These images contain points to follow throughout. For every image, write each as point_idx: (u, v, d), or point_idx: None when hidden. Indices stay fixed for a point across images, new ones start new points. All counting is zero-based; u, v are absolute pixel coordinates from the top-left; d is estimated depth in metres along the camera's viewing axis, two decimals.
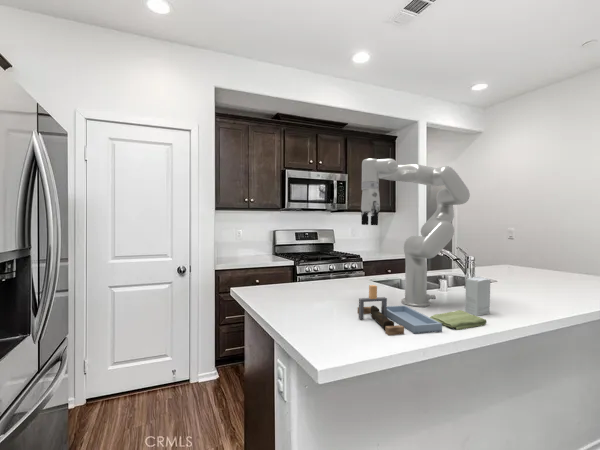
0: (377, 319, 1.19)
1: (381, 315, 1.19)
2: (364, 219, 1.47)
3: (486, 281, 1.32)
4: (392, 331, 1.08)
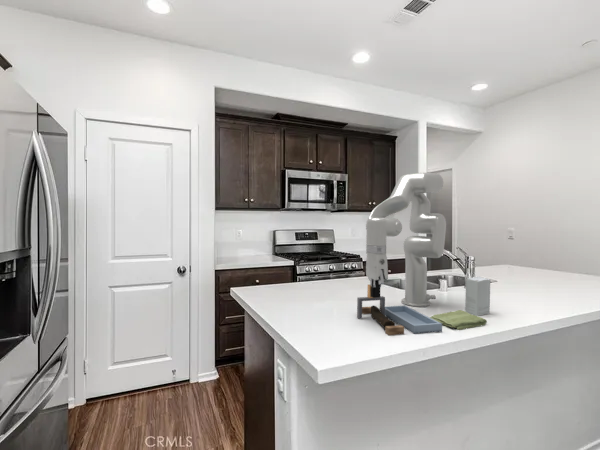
0: (377, 319, 1.19)
1: (381, 315, 1.19)
2: None
3: (486, 281, 1.32)
4: (392, 331, 1.08)
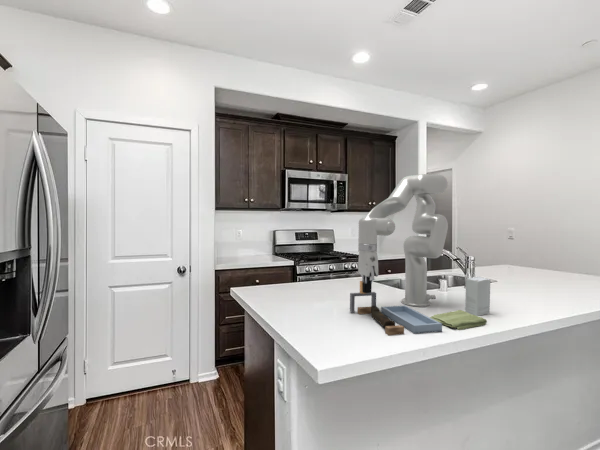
0: (378, 319, 1.19)
1: (382, 315, 1.19)
2: None
3: (486, 281, 1.32)
4: (392, 331, 1.08)
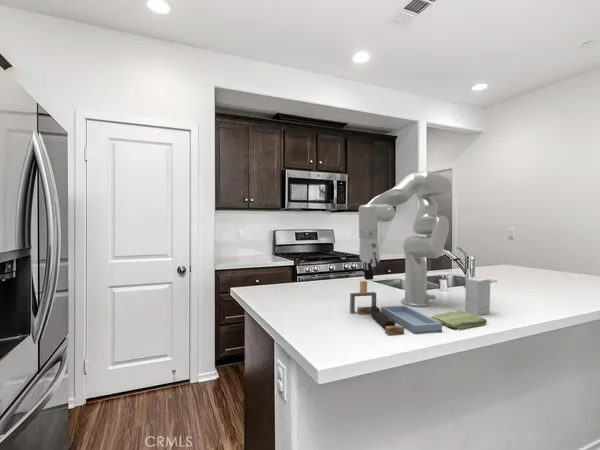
0: (378, 319, 1.19)
1: (382, 315, 1.19)
2: None
3: (486, 281, 1.32)
4: (392, 331, 1.08)
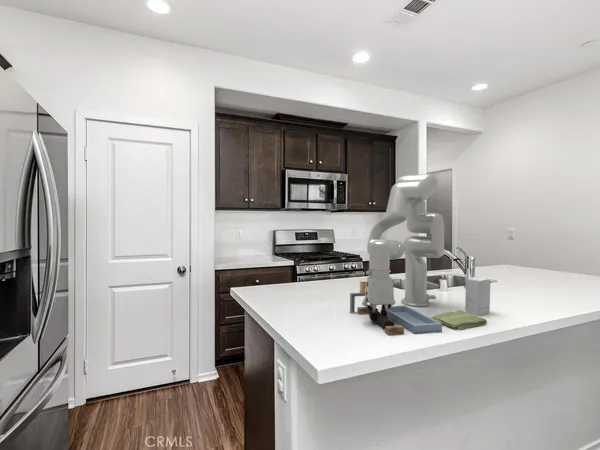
0: (376, 319, 1.19)
1: (380, 315, 1.19)
2: None
3: (486, 281, 1.32)
4: (392, 331, 1.08)
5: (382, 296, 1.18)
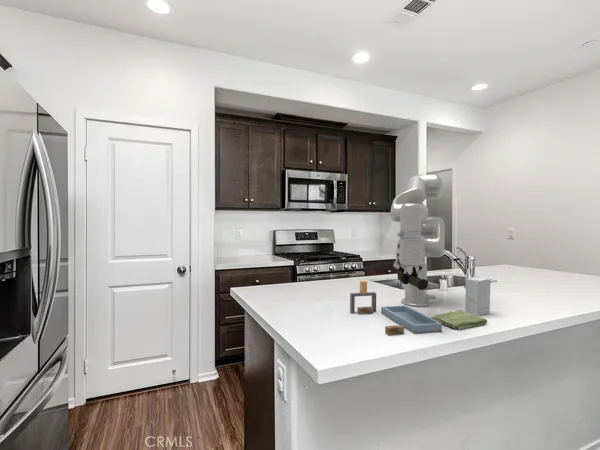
0: (408, 280, 1.20)
1: (412, 276, 1.20)
2: None
3: (486, 281, 1.32)
4: (392, 331, 1.08)
5: (414, 257, 1.19)
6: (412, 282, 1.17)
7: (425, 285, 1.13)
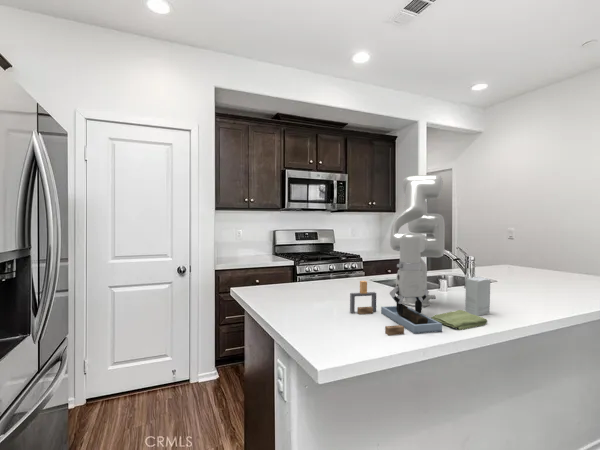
0: (407, 316, 1.20)
1: (412, 312, 1.20)
2: (416, 305, 1.23)
3: (486, 281, 1.32)
4: (392, 331, 1.08)
5: (413, 289, 1.19)
6: (412, 319, 1.17)
7: None
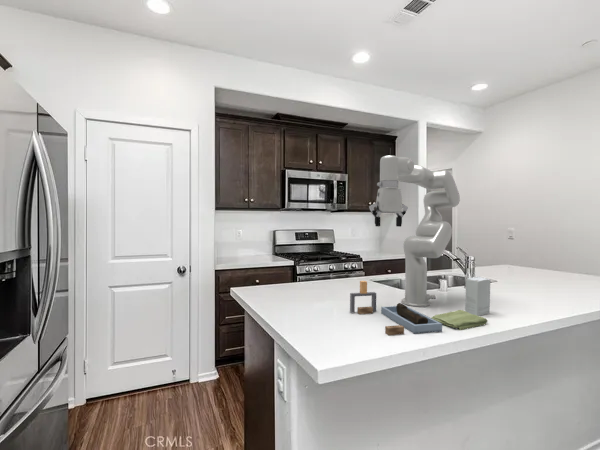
0: (407, 316, 1.20)
1: (411, 312, 1.20)
2: (397, 220, 1.36)
3: (486, 281, 1.32)
4: (392, 331, 1.08)
5: (392, 204, 1.31)
6: (412, 319, 1.17)
7: None
